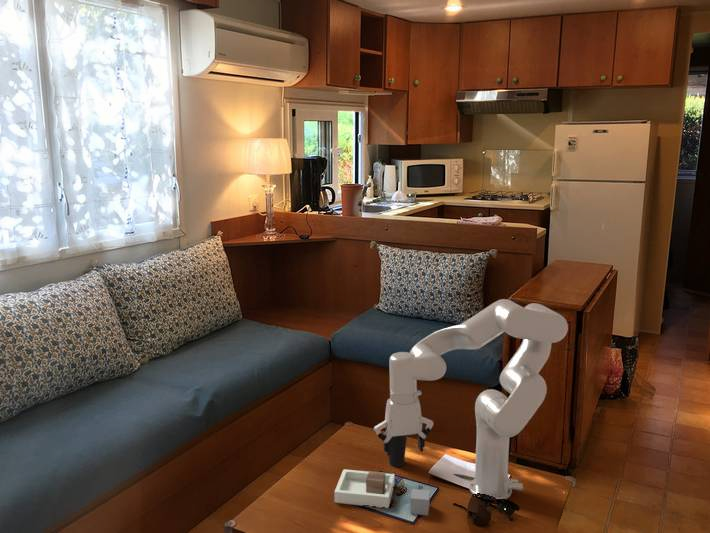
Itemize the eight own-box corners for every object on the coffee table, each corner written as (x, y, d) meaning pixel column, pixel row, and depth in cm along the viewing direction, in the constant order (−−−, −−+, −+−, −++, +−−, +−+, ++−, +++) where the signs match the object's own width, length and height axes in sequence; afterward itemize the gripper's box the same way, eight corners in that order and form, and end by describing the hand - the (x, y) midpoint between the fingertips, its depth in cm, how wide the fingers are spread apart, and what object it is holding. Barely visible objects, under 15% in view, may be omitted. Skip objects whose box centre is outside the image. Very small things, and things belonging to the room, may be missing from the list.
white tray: (394, 484, 204) (394, 474, 203) (388, 508, 192) (388, 497, 191) (343, 479, 207) (343, 469, 206) (334, 502, 195) (334, 491, 194)
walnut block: (369, 486, 201) (369, 471, 200) (385, 487, 200) (385, 472, 199) (366, 494, 197) (366, 479, 196) (382, 496, 196) (382, 481, 195)
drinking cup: (406, 470, 212) (407, 412, 208) (383, 467, 214) (383, 410, 210) (409, 458, 220) (410, 402, 215) (386, 456, 221) (387, 400, 217)
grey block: (429, 506, 193) (429, 490, 192) (427, 515, 188) (428, 499, 187) (412, 504, 194) (412, 488, 193) (410, 513, 189) (410, 498, 188)
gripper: (429, 387, 192) (429, 442, 196) (370, 393, 189) (372, 448, 193) (436, 398, 185) (437, 454, 188) (376, 404, 182) (377, 461, 186)
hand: (404, 451), depth 191 cm, fingers open, 9 cm apart
